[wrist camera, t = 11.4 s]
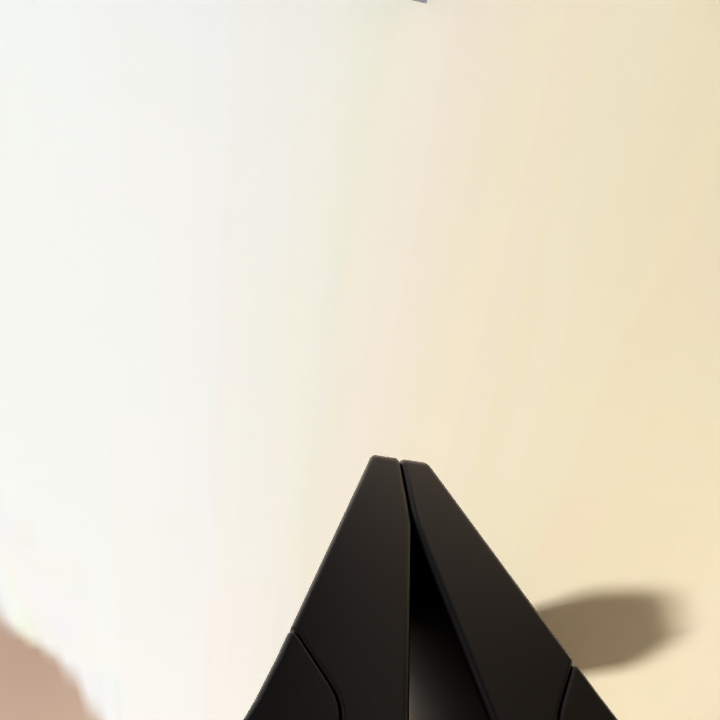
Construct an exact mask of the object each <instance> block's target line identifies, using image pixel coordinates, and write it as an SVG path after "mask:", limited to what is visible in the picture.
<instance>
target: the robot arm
mask: <svg viewBox="0 0 720 720" xmlns="http://www.w3.org/2000/svg"><path fill="white" fill-rule="evenodd" d="M572 664H573V661H572V659H571V657H570V656H569V655H568V653H567V652H566V650H565V649H564V648H563V646H562V645H561V644H560V642H559V641H558V640H557V638H556V637H555V636H554V634H553V633H552V631H551V630H550V629H549V627H548V626H547V625H546V623H545V622H544V621H543V619H542V618H541V617H540V615H539V614H538V612H537V611H536V610H535V608H534V607H533V606H532V604H531V603H530V602H529V600H528V599H527V598H526V596H525V595H524V593H523V592H522V591H521V589H520V588H519V587H518V585H517V584H516V583H515V581H514V580H513V579H512V577H511V576H510V574H509V573H508V572H507V570H506V569H505V568H504V566H503V565H502V564H501V562H500V561H499V560H498V558H497V557H496V556H495V554H494V553H493V551H492V550H491V549H490V547H489V546H488V545H487V543H486V542H485V541H484V539H483V538H482V537H481V535H480V534H479V532H478V531H477V530H476V528H475V527H474V526H473V524H472V523H471V522H470V520H469V519H468V518H467V516H466V515H465V513H464V512H463V511H462V509H461V508H460V507H459V505H458V504H457V503H456V501H455V500H454V499H453V497H452V496H451V494H450V493H449V492H448V490H447V489H446V488H445V486H444V485H443V484H442V482H441V481H440V480H439V478H438V477H437V475H436V474H435V473H434V471H433V470H432V469H431V467H430V466H429V465H427V464H426V463H423V462H416V461H410V460H402V461H400V462H399V461H398V460H397V459H396V458H391V457H384V456H378V455H374V456H372V457H371V458H370V460H369V462H368V464H367V466H366V468H365V471H364V473H363V475H362V477H361V479H360V481H359V483H358V486H357V488H356V490H355V492H354V494H353V496H352V498H351V501H350V503H349V505H348V507H347V509H346V511H345V513H344V516H343V518H342V520H341V522H340V524H339V526H338V528H337V531H336V533H335V535H334V537H333V539H332V541H331V543H330V546H329V548H328V550H327V552H326V554H325V556H324V558H323V561H322V563H321V565H320V567H319V569H318V571H317V573H316V575H315V578H314V580H313V582H312V584H311V586H310V588H309V590H308V593H307V595H306V597H305V599H304V601H303V603H302V605H301V608H300V610H299V612H298V614H297V616H296V618H295V620H294V623H293V625H292V627H291V630H290V633H288V635H287V637H286V639H285V641H284V643H283V645H282V647H281V650H280V652H279V654H278V656H277V658H276V660H275V662H274V664H273V666H272V668H271V670H270V672H269V674H268V676H267V678H266V680H265V682H264V684H263V686H262V688H261V690H260V692H259V693H258V695H257V697H256V699H255V701H254V703H253V705H252V706H251V708H250V710H249V711H248V713H247V715H246V716H245V718H244V720H618V719H617V718H616V717H615V716H614V714H613V713H612V712H611V710H610V709H609V708H608V706H607V705H606V704H605V703H604V701H603V700H602V699H601V697H600V696H599V695H598V693H597V692H596V691H595V689H594V688H593V687H592V685H591V684H590V683H589V681H588V680H587V679H586V677H585V676H584V674H583V673H582V672H581V670H580V669H579V668H578V667H577V666H572Z"/></svg>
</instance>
